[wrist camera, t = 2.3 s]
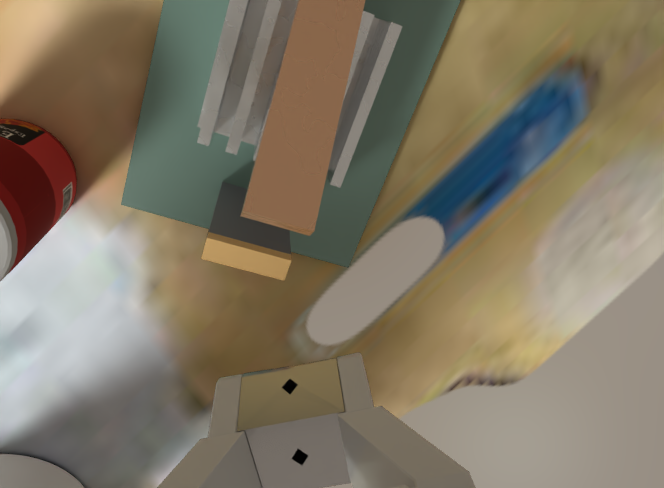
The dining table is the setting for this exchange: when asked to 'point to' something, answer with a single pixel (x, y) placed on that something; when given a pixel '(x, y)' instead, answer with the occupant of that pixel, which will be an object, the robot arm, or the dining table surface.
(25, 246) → the canned food
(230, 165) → the board
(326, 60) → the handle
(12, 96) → the dining table surface
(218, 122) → the heatsink
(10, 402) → the dining table surface
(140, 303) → the dining table surface
